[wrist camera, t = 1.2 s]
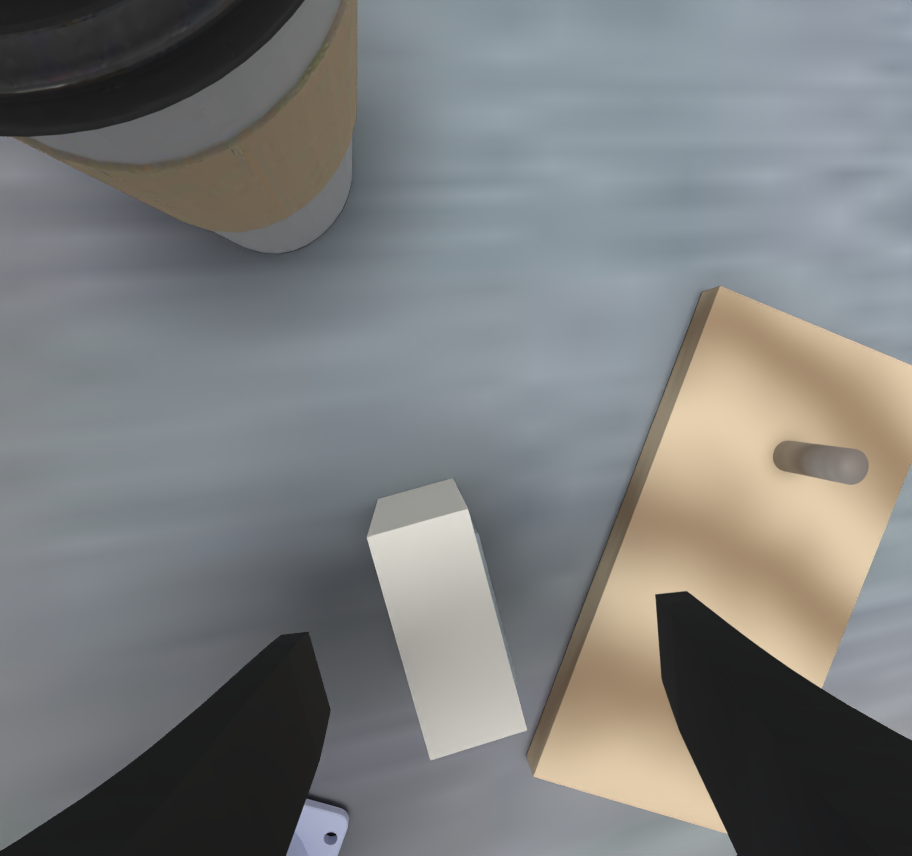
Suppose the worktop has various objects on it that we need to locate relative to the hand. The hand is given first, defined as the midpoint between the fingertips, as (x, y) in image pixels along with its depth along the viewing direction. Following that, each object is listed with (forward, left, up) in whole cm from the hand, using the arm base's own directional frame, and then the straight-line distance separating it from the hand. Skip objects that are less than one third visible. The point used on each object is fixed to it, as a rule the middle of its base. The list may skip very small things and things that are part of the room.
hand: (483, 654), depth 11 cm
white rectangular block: (-2, 0, -10) cm, 10 cm away
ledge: (+2, -11, -10) cm, 15 cm away
